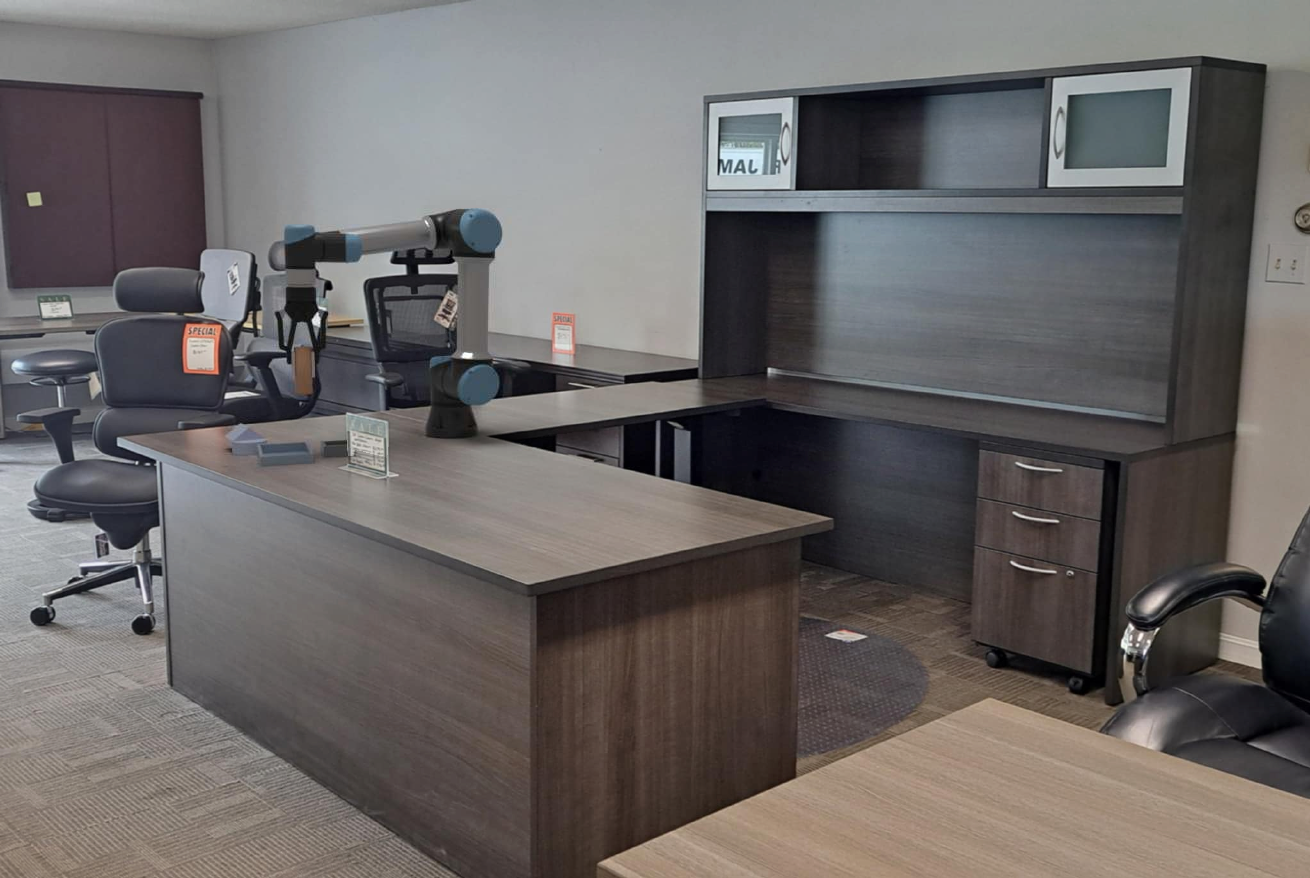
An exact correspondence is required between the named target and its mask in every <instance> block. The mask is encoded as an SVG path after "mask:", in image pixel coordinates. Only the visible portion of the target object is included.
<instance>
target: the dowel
mask: <svg viewBox="0 0 1310 878" xmlns="http://www.w3.org/2000/svg"><path fill="white" fill-rule="evenodd" d="M293 351H294V352H295V378H294V394H295V395H313V394H314V389H313V377H312V365H311V352H312V351H313V347H312V346H307V345H306V346H305V345H303V346H293Z"/></svg>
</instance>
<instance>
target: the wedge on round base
mask: <svg viewBox="0 0 1310 878" xmlns="http://www.w3.org/2000/svg"><path fill="white" fill-rule="evenodd" d="M224 438H226V439H227V440H229V441H230V442H231V448H232V449H231V451H232V454H233V455H236V456H257V444H268V438H266V437H264V436H263V435H261V434H260V433H259V432H257V431H255V430H254V429H252V428H250V427H248V426H246V425H245V424H243V423H238V424H237V425H236V426H235V427H234V428H233V429H232V430H231V431H229V432H228V433H227V434H226V435H225V436H224Z"/></svg>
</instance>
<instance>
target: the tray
mask: <svg viewBox="0 0 1310 878" xmlns="http://www.w3.org/2000/svg"><path fill="white" fill-rule="evenodd" d="M256 456H257V459H258V462H259V463H258V464H259V467H260V468H262V467H273V466H274V467H275V466H288V465H289V466H292V465H305V464H315V453H314V451H313V449H312V447H311V445H310V443H309V441H296V442H295V441H294V442H278V443H267V444H257V455H256Z"/></svg>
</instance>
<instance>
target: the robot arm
mask: <svg viewBox="0 0 1310 878" xmlns="http://www.w3.org/2000/svg"><path fill="white" fill-rule="evenodd" d="M315 229H316V228H315V226H314V225H313V224H311V225H310V224H309V225H308V224H288V225H286V226H285V227H284V232H283V244H284V245H283V246H284V249H283V250H284V272H285V274H284V280H285V281H284V282H285V284H286V285H287V286H286V287H285V305H284V307H283V308H281V309H279V310H274V317H275V318H276V320H277V321H276V322H277V323H276V325H277V337H278V339H277V340H278V348H279V350H282V351H284V352H285V355H286V356H285V357H286V363H287V365H290V369H291V371H290V373H291V378H293V379H295V352H294V350H293V347H294V346H293V345H294V341H295V336H296V331H297V325H298V324H299V323H304V324H305V323H306V326H307V329H308V333H309V338H310V341H311V347H312V352H311V365H312V378H315V377H316V367H315V365H319V363H320V351H322V350H325V349H326V348H327V319H328V317H329V312H328V310H324V309H321V308H319V305H318V304H317V288H316V287H315V285H316V284H317V269H316V268H317V267H316V263H333V264H337V263H339V264H340V263H341V264H342V263H344V264H345V263H346V264H349V263H358V262H359V261H360V259H362V258H361V257H362V256H369V255H370V256H371V255H376V254H377V255H378V254H384V253H392V252H398V251H399V252H400V251H406V250H413V249H421V248H426V249H427V250H429V251H433V250H451V251H452V259H453V260H454V261H455V262H456V263H457V313H456V314H457V316H456V317H457V319H456V321H457V323H456V331H457V332H456V351H454V353H452V354H451V355H443V356H442V355H441V356H433V357H431V359H430V361H429V368H428V371H429V386H430V387H429V388H430V391H429V392H430V393H429V394H430V410H429V413H428V417H427V421H426V423H425V424H426V425H425V430H424V431H425V435H426V436H428V437H431V438H442V439H443V438H444V439H451V438H452V439H453V438H464V437H465V438H468V437H472V436H475V435H478V433H479V428H478V423H477V421H476V416H475V414H474V411H473V409H472V406H483V405H486V404H488V403H489V402H491V401H492V400H493V399H494V397H496V395H497V394H498V391H499V388H500V377H499V375H498V372H497V371H496V370H495V368H494V356H493V355H492V354H491V353H490V352H489V349H488V347H489V301H490V300H489V296H490V292H489V291H490V265H491V264H492V263H493V262H494V261H495V260H496V249H497V248H498V247H499V246H500V244H501V242H502V239H503V227H502V225H501V223H500V221H499V219H498V218H497V216H496V215H495V214H494V213H492V212H491V211H490V210H487V209H482V208H477V207H475V208H456V209H450V210H447V211H444V212H440V213H439V212H438V213H435V214H430V215H424V216H423V217H422V218H421V219H419V220H411V221H402V222H401V221H400V222H395V223H386V224H378V225H371V226H370V225H369V226H363V227H362V226H361V227H354V228H346V229H345V228H344V229H339V230H338V229H337V230H332V231H331V230H329V231H322V232H319V231H316V230H315ZM285 313H286V314H287V315H286V316H288V318H290V320H291V321H290V328H289V333H288V337H287V342H286V343H287V344H286V345H285V336H284V322H283V319H284V318H285ZM316 314H318V317H319V318H320V320H319V321H320V325H319V327H320V329H319V333H320V334H319V337H320V338H319V344H318V341H317V336H316V333H315V328H314V324H313V319H314V318H315V316H316Z"/></svg>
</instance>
